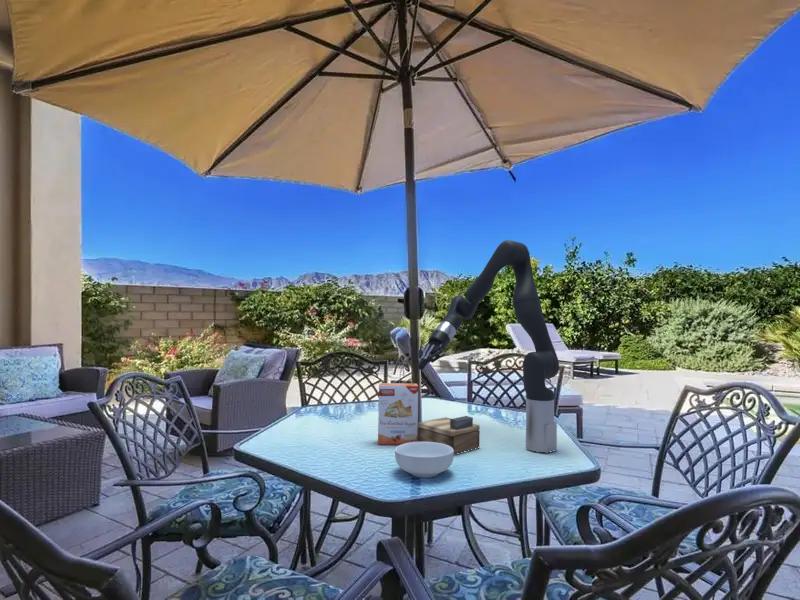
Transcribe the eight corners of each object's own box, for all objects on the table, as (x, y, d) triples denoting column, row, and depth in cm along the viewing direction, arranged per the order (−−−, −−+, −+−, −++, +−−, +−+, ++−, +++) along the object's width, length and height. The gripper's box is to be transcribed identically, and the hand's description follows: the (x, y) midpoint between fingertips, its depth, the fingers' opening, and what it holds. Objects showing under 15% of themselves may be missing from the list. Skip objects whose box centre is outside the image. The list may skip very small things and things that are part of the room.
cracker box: (377, 445, 164) (378, 385, 164) (378, 440, 170) (378, 382, 170) (418, 445, 164) (418, 385, 164) (417, 440, 170) (417, 382, 171)
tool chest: (479, 448, 161) (479, 430, 162) (451, 456, 152) (451, 437, 152) (445, 438, 173) (445, 422, 174) (417, 445, 164) (417, 427, 164)
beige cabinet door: (479, 429, 162) (479, 416, 162) (451, 436, 152) (451, 422, 152) (445, 421, 174) (445, 409, 174) (417, 427, 164) (417, 414, 165)
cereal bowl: (449, 463, 144) (449, 440, 145) (457, 483, 128) (457, 457, 128) (394, 463, 144) (394, 440, 144) (395, 483, 127) (395, 457, 128)
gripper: (425, 328, 188) (402, 359, 179) (451, 329, 178) (427, 363, 169) (434, 341, 191) (411, 373, 182) (459, 343, 181) (436, 377, 172)
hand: (419, 368), depth 176 cm, fingers closed
